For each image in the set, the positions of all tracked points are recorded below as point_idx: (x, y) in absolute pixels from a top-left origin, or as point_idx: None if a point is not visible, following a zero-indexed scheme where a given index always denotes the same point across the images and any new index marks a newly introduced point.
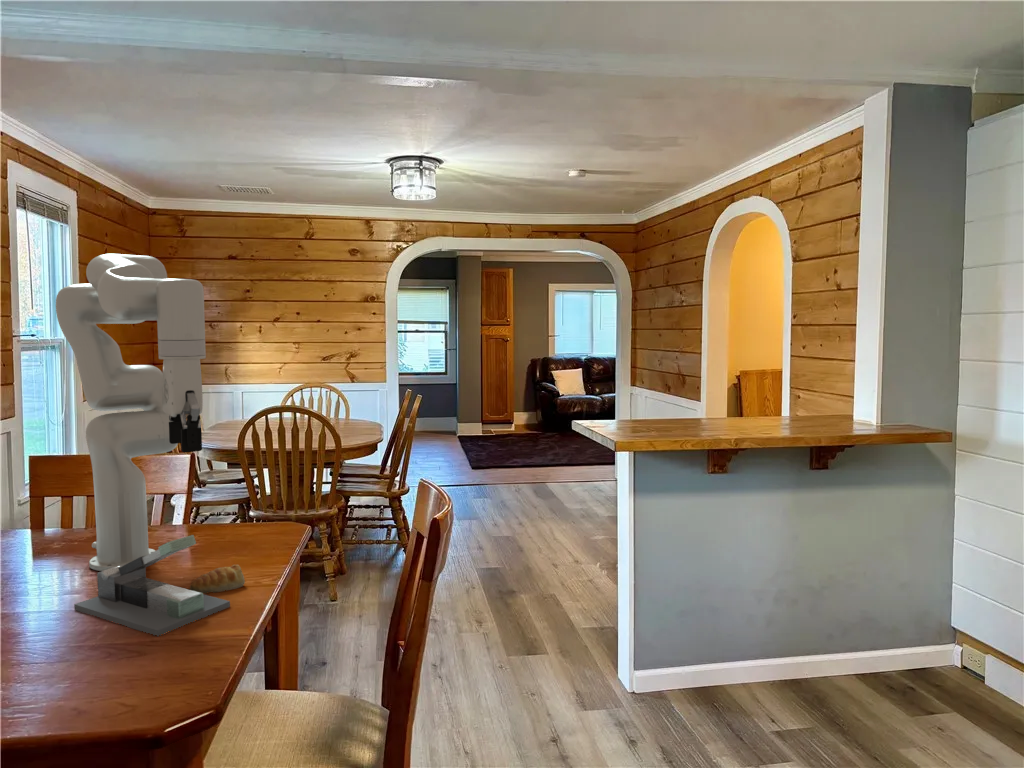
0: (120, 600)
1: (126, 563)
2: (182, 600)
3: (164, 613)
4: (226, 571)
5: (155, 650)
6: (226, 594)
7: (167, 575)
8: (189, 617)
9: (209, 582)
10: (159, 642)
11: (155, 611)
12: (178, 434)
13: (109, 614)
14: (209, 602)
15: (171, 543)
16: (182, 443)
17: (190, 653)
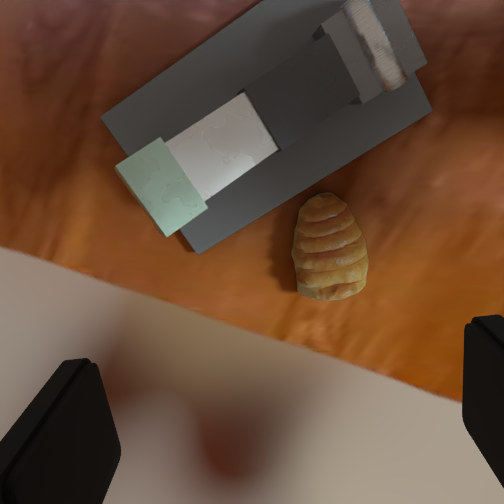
0: None
1: (388, 55)
2: None
3: None
4: (316, 272)
5: (39, 109)
6: (272, 254)
7: (470, 154)
8: None
9: (299, 232)
10: (74, 118)
11: None
12: (493, 408)
13: (237, 22)
14: (210, 220)
15: (119, 173)
16: (40, 397)
17: (4, 166)
